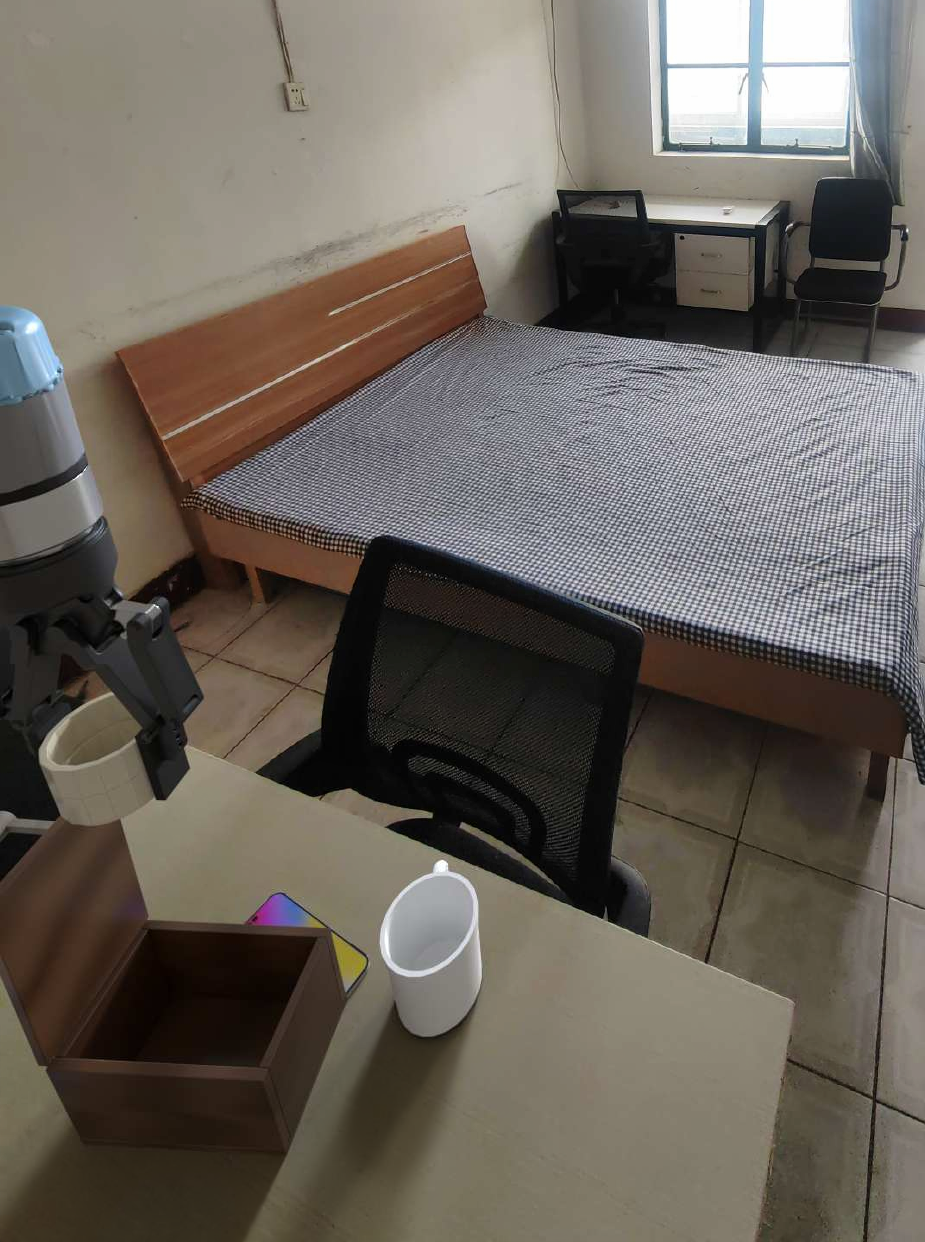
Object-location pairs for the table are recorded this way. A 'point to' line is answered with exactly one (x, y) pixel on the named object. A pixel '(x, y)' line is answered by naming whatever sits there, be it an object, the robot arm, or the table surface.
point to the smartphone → (291, 913)
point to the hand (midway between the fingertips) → (122, 781)
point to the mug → (433, 952)
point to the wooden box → (203, 1038)
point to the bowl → (96, 763)
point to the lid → (64, 923)
